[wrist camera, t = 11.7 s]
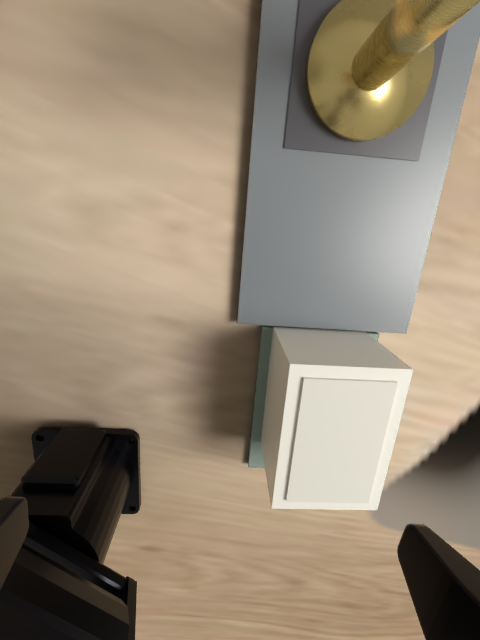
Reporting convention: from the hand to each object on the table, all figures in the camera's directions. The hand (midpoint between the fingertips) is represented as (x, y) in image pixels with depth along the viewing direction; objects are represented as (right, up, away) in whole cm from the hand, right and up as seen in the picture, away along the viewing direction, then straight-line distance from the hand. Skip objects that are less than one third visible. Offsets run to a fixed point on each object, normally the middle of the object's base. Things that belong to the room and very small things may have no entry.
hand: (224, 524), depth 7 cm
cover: (+5, 0, +12) cm, 13 cm away
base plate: (+6, +12, +9) cm, 16 cm away
